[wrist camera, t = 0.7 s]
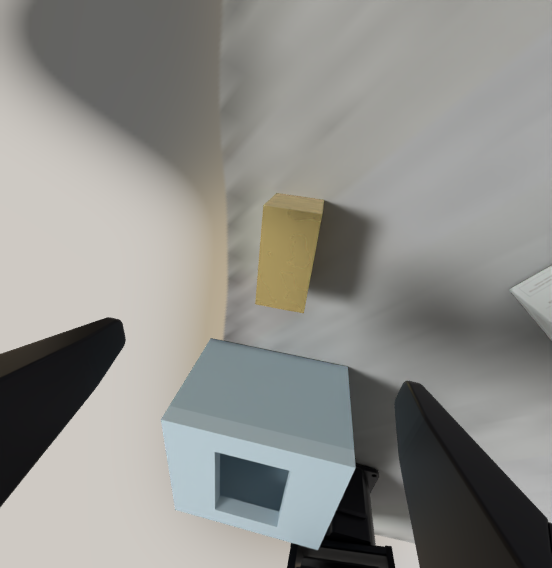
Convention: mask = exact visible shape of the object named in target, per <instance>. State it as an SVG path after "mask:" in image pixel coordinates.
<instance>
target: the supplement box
mask: <svg viewBox="0 0 552 568" xmlns="http://www.w3.org/2000/svg"><path fill="white" fill-rule="evenodd" d="M510 291H511V293H512V294H513V295H514V296H515V297H516V298H517V300H518V301H519V302H520V303H521V304H522V306H523V307H524V308H525V309H526V311H527V312H528V313H529V314H530V315H531V317H532V318H533V319H534V320H535V321H536V323H537V324H538V325H539V326H540V327H541V329H542V330H543V331H544V332H545V333H546V335H547V336H548V337H549V338H550V339H551V341H552V266H550V267H548V268H546V269H544V270H543V271H541V272H539V273H537V274H535V275H534V276H532V277H530V278H528V279H527V280H525V281H523V282H521V283H520V284H518V285H516V286H514V287H512V288H511V289H510Z"/></svg>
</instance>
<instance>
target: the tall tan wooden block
mask: <svg viewBox="0 0 552 568" xmlns="http://www.w3.org/2000/svg"><path fill="white" fill-rule="evenodd" d="M323 203H324V200H321V199H314V198H307V197H300V196H293V195H286V194H279V193H276V194H275V195H274V196H273V197H272V198H271V199H270V200H269V201H268V202H267V203H265V204H264V205H263V217H262V229H261V242H260V254H259V266H258V278H257V290H256V302H255V304H257V305H262V306H268V307H273V308H278V309H283V310H289V311H294V312H299V313H304V309H305V303H306V298H307V293H308V288H309V282H310V277H311V272H312V266H313V261H314V256H315V251H316V245H317V240H318V235H319V230H320V224H321V219H322V213H323Z"/></svg>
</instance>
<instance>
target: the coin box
mask: <svg viewBox="0 0 552 568" xmlns="http://www.w3.org/2000/svg"><path fill="white" fill-rule="evenodd" d="M161 423H162V429H163V436H164V442H165V448H166V454H167V460H168V467H169V473H170V480H171V486H172V492H173V498H174V505H175V510H178V511H182V512H185V513H188V514H192V515H196V516H199V517H203V518H206V519H210V520H213V521H217V522H220V523H224V524H227V525H231V526H234V527H238V528H242V529H245V530H248V531H252V532H256V533H259V534H262V535H266V536H269V537H273V538H277V539H280V540H283V541H287V542H290V543H294V544H298V545H301V546H305V547H308V548H312V549H315V550H318V549H319V547H320V545H321V542H322V540H323V538H324V536H325V534H326V531H327V529H328V527H329V525H330V523H331V521H332V518H333V516H334V514H335V512H336V510H337V507H338V505H339V503H340V501H341V499H342V496H343V494H344V492H345V490H346V488H347V486H348V483H349V481H350V479H351V477H352V475H353V472H354V470H355V468H356V466H355V453H354V441H353V428H352V415H351V403H350V390H349V377H348V367H347V366H342V365H337V364H332V363H328V362H323V361H318V360H313V359H308V358H304V357H299V356H294V355H289V354H284V353H280V352H275V351H270V350H265V349H260V348H256V347H251V346H246V345H241V344H236V343H232V342H227V341H222V340H217V339H212V338H211V339H210V341H209V342H208V344H207V346H206V347H205V349H204V351H203V352H202V354H201V355H200V357H199V359H198V360H197V362H196V363H195V365H194V367H193V368H192V370H191V372H190V373H189V375H188V376H187V378H186V380H185V381H184V383H183V385H182V386H181V388H180V390H179V391H178V393H177V394H176V396H175V398H174V399H173V401H172V402H171V404H170V406H169V407H168V409H167V411H166V412H165V414H164V416H163V417H162V419H161Z"/></svg>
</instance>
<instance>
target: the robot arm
mask: <svg viewBox="0 0 552 568" xmlns="http://www.w3.org/2000/svg"><path fill="white" fill-rule="evenodd" d="M125 340H126V339H125V333H124V329H123V324H122V322H121V321H120V320H119V319H115V318H109V317H108V318H104V319H101V320H98V321H95V322H92V323H90V324H87V325H84V326H81V327H78V328H75V329H72V330H69V331H66V332H63V333H60V334H57V335H54V336H52V337H49V338H46V339H43V340H40V341H37V342H34V343H31V344H28V345H25V346H22V347H20V348H17V349H14V350H11V351H8V352H5V353H2V354H0V507H1V506H2V505H3V503H4V502H5V501H6V499H7V498H8V497H9V496H10V495H11V493H12V492H13V491H14V490H15V488H16V487H17V486H18V485H19V483H20V482H21V481H22V479H23V478H24V477H25V476H26V475H27V473H28V472H29V471H30V470H31V468H32V467H33V466H34V465H35V463H36V462H37V461H38V460H39V458H40V457H41V456H42V455H43V453H44V452H45V451H46V450H47V448H48V447H49V446H50V445H51V444H52V442H53V441H54V440H55V439H56V437H57V436H58V435H59V434H60V432H61V431H62V430H63V429H64V427H65V426H66V425H67V424H68V422H69V421H70V420H71V419H72V417H73V416H74V415H75V414H76V412H77V411H78V410H79V409H80V407H81V406H82V405H83V404H84V402H85V401H86V400H87V399H88V397H89V396H90V395H91V394H92V392H93V391H94V390H95V388H96V387H97V386H98V384H99V383H100V381H101V380H102V378H103V377H104V375H105V374H106V372H107V371H108V369H109V368H110V366H111V365H112V363H113V362H114V360H115V358H116V357H117V356H118V354H119V353H120V351H121V350H122V348H123V346H124V344H125ZM395 418H396V429H397V441H398V452H399V461H400V467H401V473H402V478H403V483H404V488H405V493H406V498H407V504H408V509H409V514H410V519H411V524H412V529H413V534H414V540H415V545H416V550H417V555H418V560H419V565H420V568H552V523H550V522H548V519H547V518H546V517H545V516H544V515H543V513H542V512H541V511H540V510H539V509H538V508H537V507H536V506H535V505H534V504H533V503H532V502H531V501H530V500H529V499H528V497H527V496H526V495H525V494H524V493H523V492H522V491H521V490H520V489H519V488H518V487H517V486H516V485H515V484H514V483H513V481H512V480H511V479H510V478H509V477H508V476H507V475H506V474H505V473H504V472H503V471H502V470H501V469H500V468H499V467H498V465H497V464H496V463H495V462H494V461H493V460H492V459H491V458H490V457H489V456H488V455H487V454H486V453H485V452H484V451H483V449H482V448H481V447H480V446H479V445H478V444H477V443H476V442H475V441H474V440H473V439H472V438H471V437H470V436H469V435H468V433H467V432H466V431H465V430H464V429H463V428H462V427H461V426H460V425H459V424H458V423H457V422H456V421H455V420H454V418H453V417H452V416H451V415H450V414H449V413H448V412H447V411H446V410H445V409H444V408H443V407H442V406H441V405H440V404H439V402H438V401H437V400H436V399H435V398H434V397H433V396H432V395H431V394H430V393H429V392H428V391H427V390H426V389H425V388H424V386H422V385H421V384H420V383H416V382H412V381H405V382H404V383H403V385H402V387H401V389H400V391H399V393H398V395H397V397H396V399H395ZM355 466H356V468H355V470H354V472H353V475H352V477H351V479H350V481H349V483H348V486H347V488H346V490H345V492H344V494H343V496H342V499H341V501H340V503H339V505H338V507H337V510H336V512H335V514H334V516H333V518H332V521H331V523H330V525H329V527H328V529H327V531H326V534H325V536H324V538H323V540H322V542H321V545H320V547H319V549H318V550H315V549H312V548H308V547H305V546H301V545H298V544H294V543H291V549H290V554H289V560H288V566H287V568H395V564H394V559H393V552H392V547H391V546H385V547H381V546H376V545H375V536H374V527H373V518H372V509H371V501H370V492H371V490H372V489H373V487H374V485H375V483H376V481H377V480H378V478H379V472H378V470H376V469H373V468H369V467H365V466H361V465H357V464H355Z"/></svg>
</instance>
